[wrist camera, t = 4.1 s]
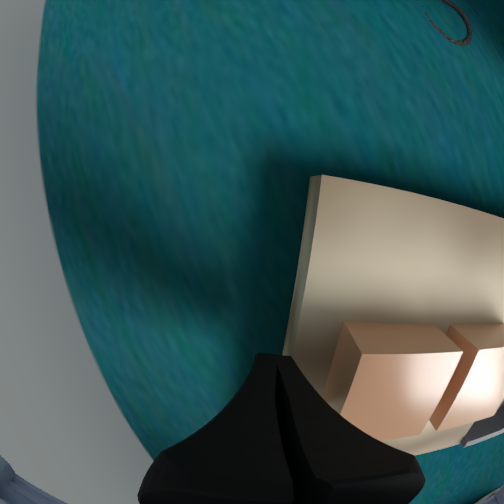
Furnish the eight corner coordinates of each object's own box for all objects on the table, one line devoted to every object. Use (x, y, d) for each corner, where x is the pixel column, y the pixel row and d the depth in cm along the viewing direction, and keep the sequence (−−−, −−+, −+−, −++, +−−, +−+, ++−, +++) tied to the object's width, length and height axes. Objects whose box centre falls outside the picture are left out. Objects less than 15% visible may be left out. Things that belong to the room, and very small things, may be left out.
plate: (446, 423, 15) (459, 443, 13) (264, 436, 15) (264, 466, 13) (519, 226, 12) (545, 233, 10) (309, 176, 12) (321, 174, 10)
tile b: (473, 391, 12) (493, 415, 9) (417, 400, 12) (436, 431, 9) (503, 323, 11) (531, 343, 8) (449, 324, 11) (478, 349, 8)
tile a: (401, 402, 12) (419, 434, 9) (318, 405, 12) (326, 444, 9) (433, 324, 11) (463, 351, 8) (343, 320, 11) (362, 354, 8)
